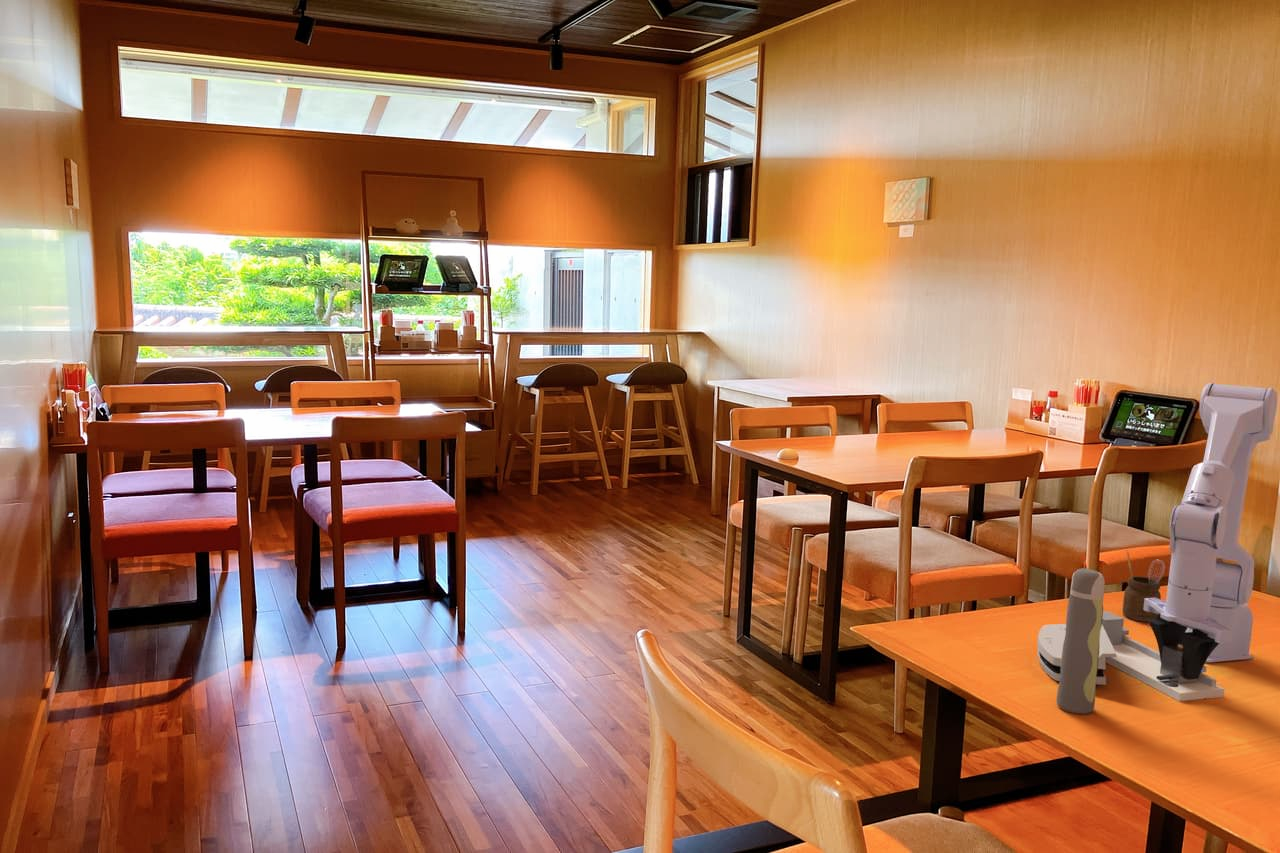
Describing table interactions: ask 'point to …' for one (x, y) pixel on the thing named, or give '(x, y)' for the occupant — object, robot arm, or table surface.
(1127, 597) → the utensil holder
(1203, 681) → the board
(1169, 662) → the grey slider block
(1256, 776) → the table surface
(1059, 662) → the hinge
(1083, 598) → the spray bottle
